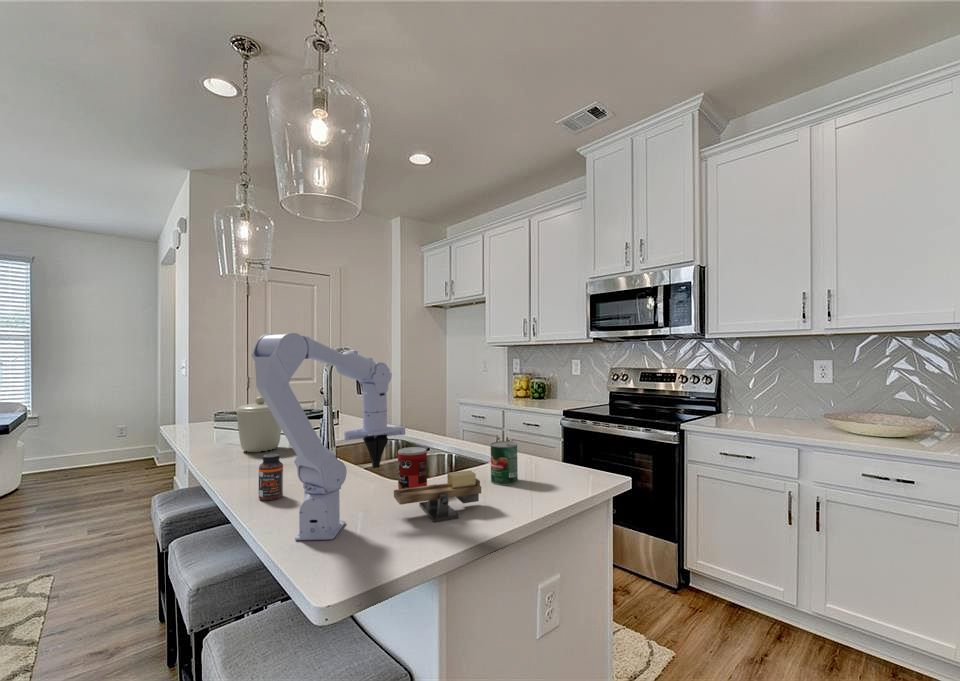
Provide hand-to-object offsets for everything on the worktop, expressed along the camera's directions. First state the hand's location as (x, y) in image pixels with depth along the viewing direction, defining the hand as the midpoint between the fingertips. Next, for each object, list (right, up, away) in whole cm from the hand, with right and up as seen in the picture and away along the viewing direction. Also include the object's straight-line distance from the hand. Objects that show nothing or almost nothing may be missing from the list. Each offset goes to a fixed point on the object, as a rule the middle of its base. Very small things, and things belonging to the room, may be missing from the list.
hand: (375, 466), depth 112 cm
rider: (+21, -5, 0) cm, 22 cm away
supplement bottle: (-30, -11, +10) cm, 34 cm away
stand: (+15, -10, -2) cm, 19 cm away
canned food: (+7, -11, +16) cm, 20 cm away
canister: (-61, -13, +70) cm, 94 cm away
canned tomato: (+33, -11, +22) cm, 41 cm away
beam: (+15, -8, -2) cm, 18 cm away
